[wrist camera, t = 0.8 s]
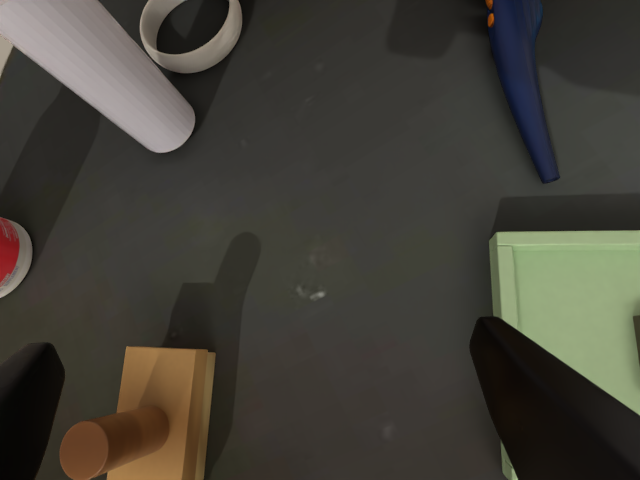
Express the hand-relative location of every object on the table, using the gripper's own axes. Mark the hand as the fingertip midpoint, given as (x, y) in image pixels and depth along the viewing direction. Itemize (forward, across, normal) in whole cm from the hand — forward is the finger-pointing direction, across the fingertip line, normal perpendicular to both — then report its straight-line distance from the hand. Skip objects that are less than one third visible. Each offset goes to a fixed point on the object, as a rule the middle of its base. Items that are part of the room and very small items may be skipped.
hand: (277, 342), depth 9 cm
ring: (+31, +5, -2) cm, 32 cm away
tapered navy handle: (+21, -16, -1) cm, 26 cm away
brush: (+10, +6, +17) cm, 21 cm away
